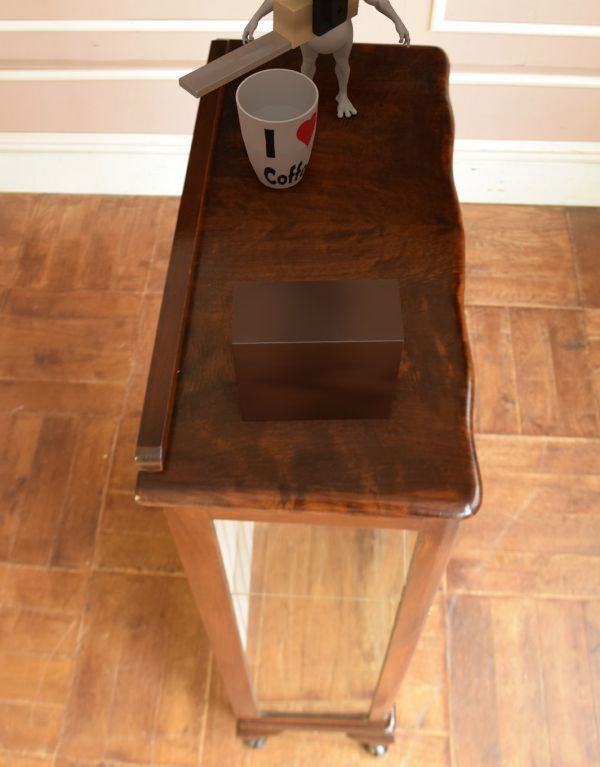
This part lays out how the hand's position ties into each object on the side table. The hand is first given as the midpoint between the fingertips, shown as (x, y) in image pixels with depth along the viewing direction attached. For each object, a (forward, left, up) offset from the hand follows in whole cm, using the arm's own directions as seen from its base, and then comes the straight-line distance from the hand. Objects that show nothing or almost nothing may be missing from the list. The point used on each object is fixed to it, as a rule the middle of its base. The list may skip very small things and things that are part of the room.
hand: (316, 17), depth 59 cm
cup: (-4, -10, -25) cm, 27 cm away
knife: (+5, 0, 0) cm, 5 cm away
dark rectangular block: (+12, +13, -24) cm, 31 cm away
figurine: (-15, -14, -25) cm, 32 cm away
